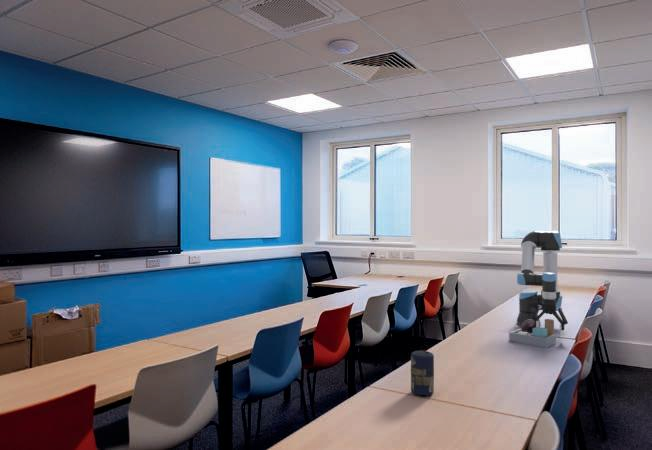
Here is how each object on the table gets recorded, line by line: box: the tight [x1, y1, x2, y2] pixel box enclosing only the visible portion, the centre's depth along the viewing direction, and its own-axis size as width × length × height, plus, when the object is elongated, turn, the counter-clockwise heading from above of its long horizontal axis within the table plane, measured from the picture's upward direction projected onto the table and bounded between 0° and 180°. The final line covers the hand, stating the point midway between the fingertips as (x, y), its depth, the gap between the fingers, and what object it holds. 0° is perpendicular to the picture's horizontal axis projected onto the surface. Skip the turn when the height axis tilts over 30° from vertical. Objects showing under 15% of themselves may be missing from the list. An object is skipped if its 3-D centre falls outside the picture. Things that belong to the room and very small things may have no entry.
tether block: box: [533, 318, 555, 338], centre depth 269 cm, size 19×6×12 cm, turn 133°
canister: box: [410, 350, 435, 396], centre depth 190 cm, size 10×10×18 cm
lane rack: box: [508, 328, 557, 349], centre depth 269 cm, size 14×22×5 cm, turn 43°
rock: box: [520, 319, 536, 334], centre depth 290 cm, size 12×9×10 cm
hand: (549, 333), depth 274 cm, fingers open, 13 cm apart
